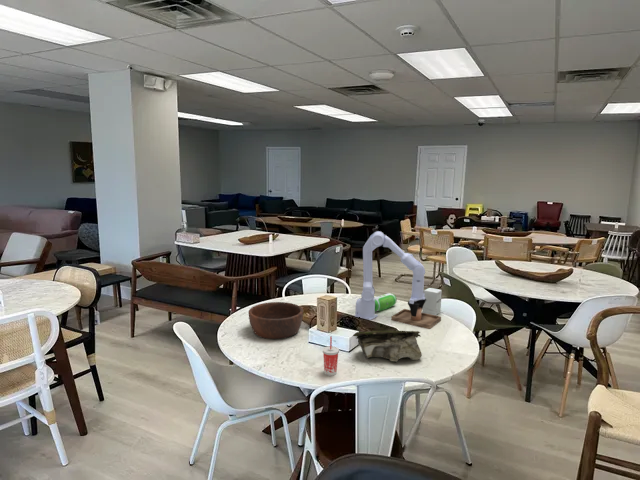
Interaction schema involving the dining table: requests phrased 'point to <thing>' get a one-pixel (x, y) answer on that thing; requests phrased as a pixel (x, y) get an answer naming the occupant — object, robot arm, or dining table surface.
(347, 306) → the dining table surface
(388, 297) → the speaker
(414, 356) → the mossy rock
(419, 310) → the terracotta cup
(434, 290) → the supplement box
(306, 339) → the dining table surface
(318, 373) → the dining table surface
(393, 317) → the walnut tray
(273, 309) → the wooden bowl
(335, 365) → the beverage cup
